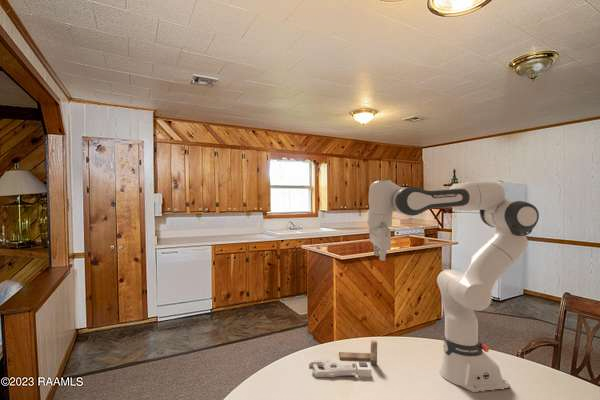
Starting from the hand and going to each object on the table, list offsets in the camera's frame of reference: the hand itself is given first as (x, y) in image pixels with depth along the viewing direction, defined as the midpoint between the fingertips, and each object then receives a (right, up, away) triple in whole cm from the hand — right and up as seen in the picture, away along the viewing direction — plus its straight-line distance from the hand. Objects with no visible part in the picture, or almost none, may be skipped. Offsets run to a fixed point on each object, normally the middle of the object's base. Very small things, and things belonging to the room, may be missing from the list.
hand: (379, 257), depth 111 cm
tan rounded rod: (-1, -45, +6) cm, 45 cm away
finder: (-6, -45, 0) cm, 45 cm away
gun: (-18, -45, +1) cm, 48 cm away
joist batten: (-7, -45, +11) cm, 46 cm away
